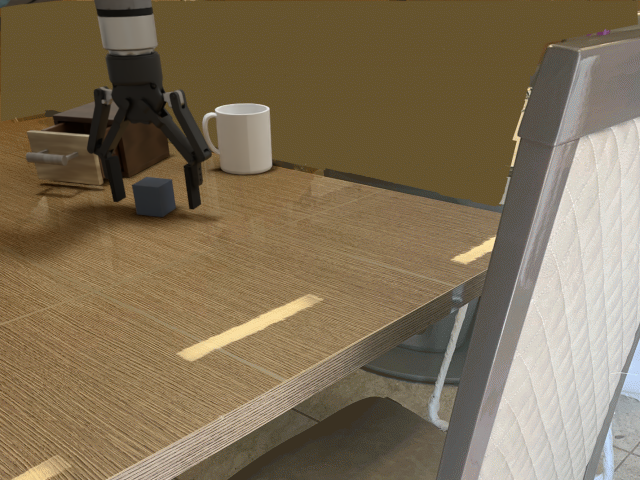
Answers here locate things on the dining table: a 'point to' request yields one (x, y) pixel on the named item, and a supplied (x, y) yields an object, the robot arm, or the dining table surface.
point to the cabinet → (126, 139)
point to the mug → (242, 138)
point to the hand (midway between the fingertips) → (157, 203)
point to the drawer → (66, 154)
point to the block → (154, 196)
